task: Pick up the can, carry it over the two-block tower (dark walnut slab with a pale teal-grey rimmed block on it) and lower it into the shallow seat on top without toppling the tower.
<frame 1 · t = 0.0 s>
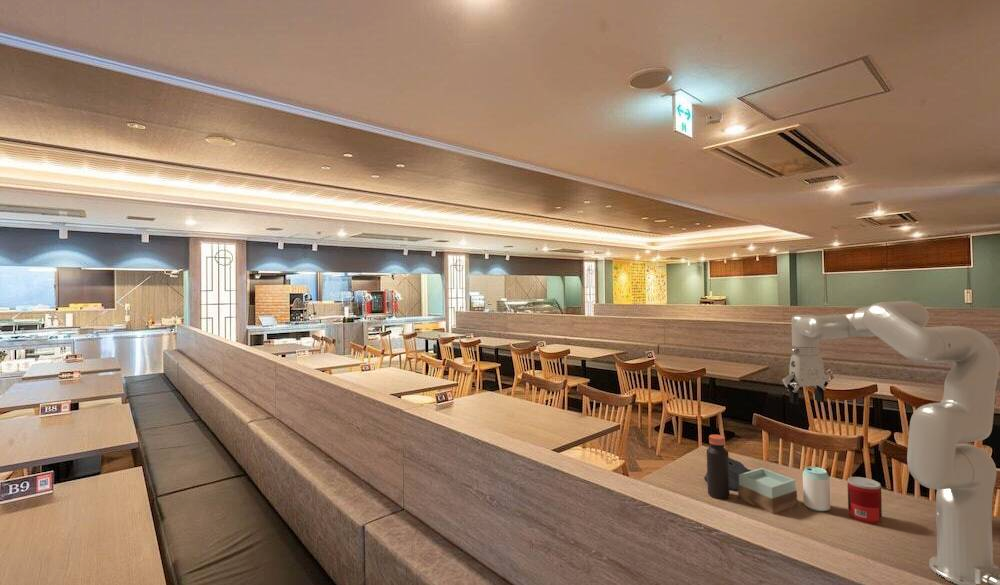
hand: (806, 402, 155), 31 cm above the table, fingers open, 9 cm apart
can: (816, 507, 147), on the table
bottle: (718, 495, 158), on the table
bottom block: (767, 502, 152), on the table, touching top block
canned food: (865, 518, 139), on the table
dark slate chunk: (727, 479, 171), on the table
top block: (766, 487, 152), point 5 cm above the table, touching bottom block
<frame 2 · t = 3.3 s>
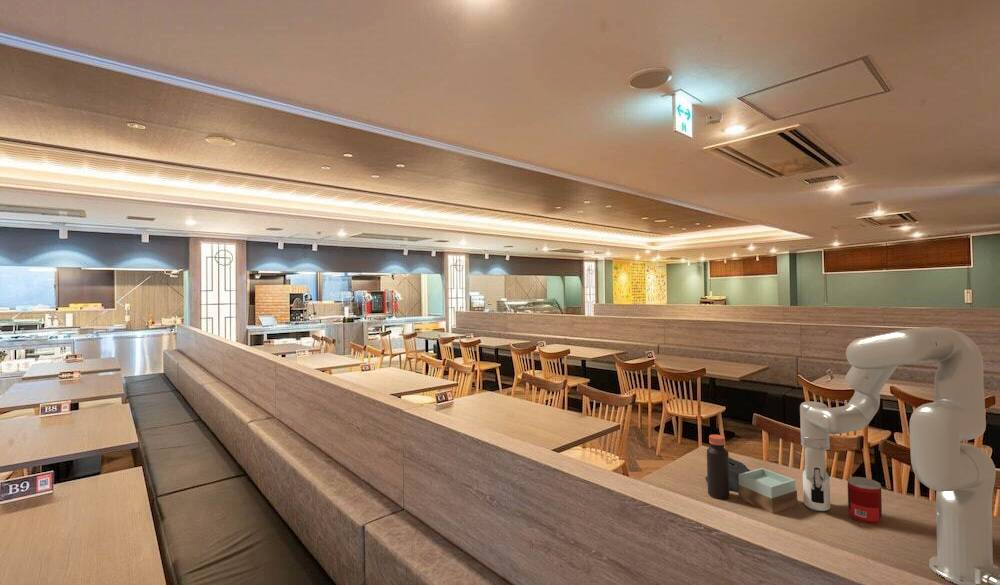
hand: (816, 496, 147), 3 cm above the table, fingers closed on can, 7 cm apart
can: (816, 507, 147), on the table, touching gripper
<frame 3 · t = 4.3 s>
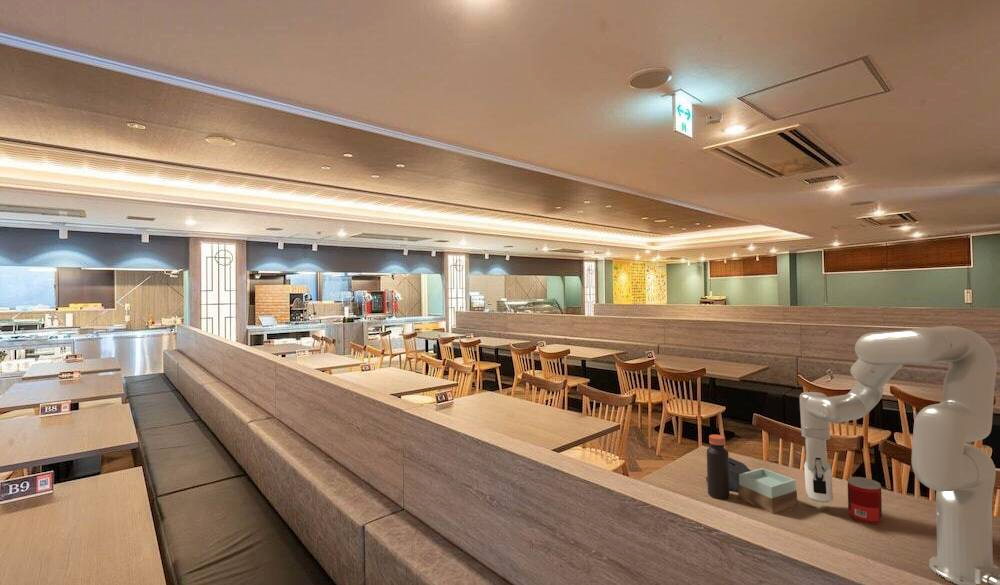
hand: (818, 488, 146), 6 cm above the table, fingers closed on can, 7 cm apart
can: (819, 499, 146), point 3 cm above the table, touching gripper
everything else where it was.
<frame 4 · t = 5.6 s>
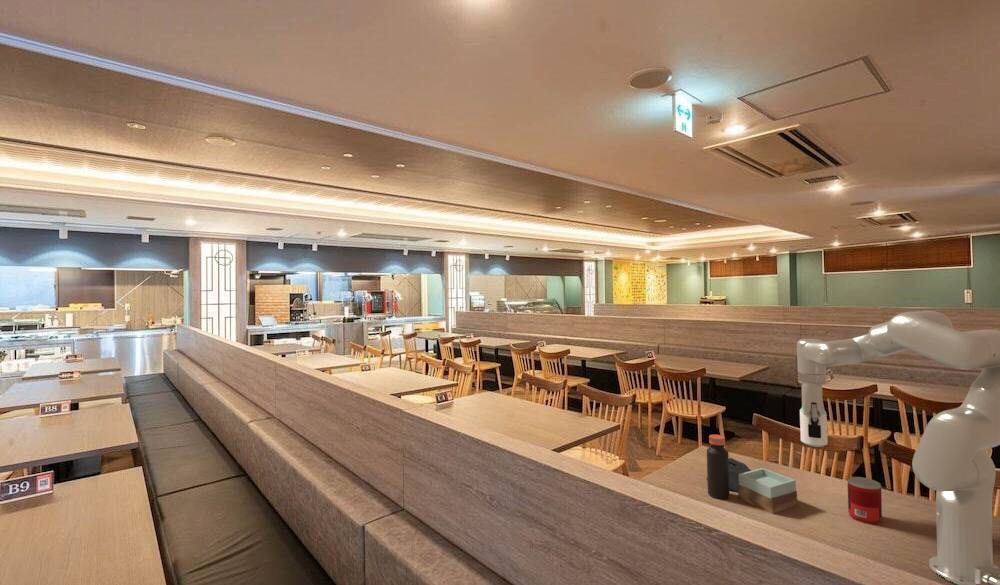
hand: (813, 433, 147), 24 cm above the table, fingers closed on can, 7 cm apart
can: (814, 444, 147), point 20 cm above the table, touching gripper
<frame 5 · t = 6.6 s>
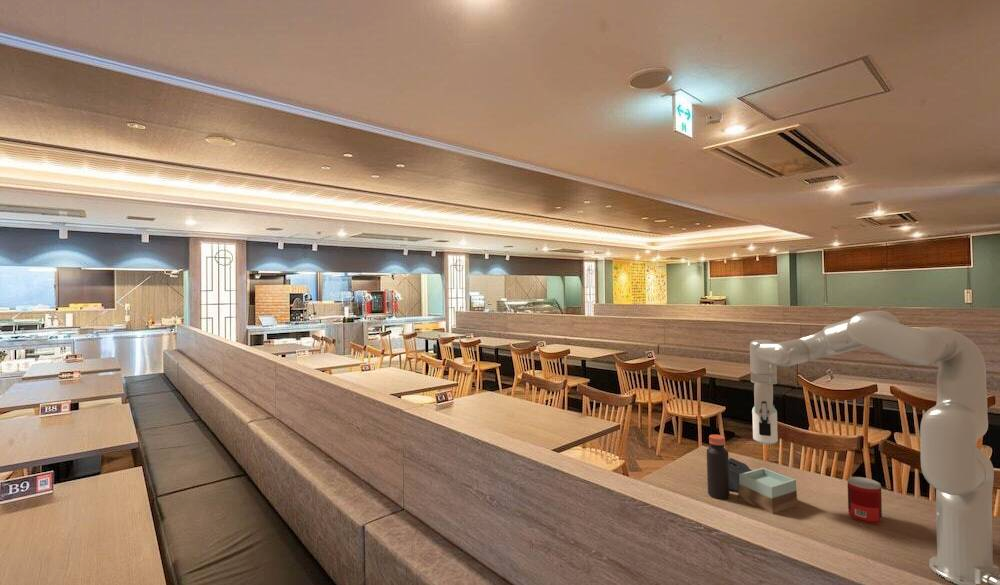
hand: (765, 431, 152), 23 cm above the table, fingers closed on can, 7 cm apart
can: (765, 441, 152), point 20 cm above the table, touching gripper
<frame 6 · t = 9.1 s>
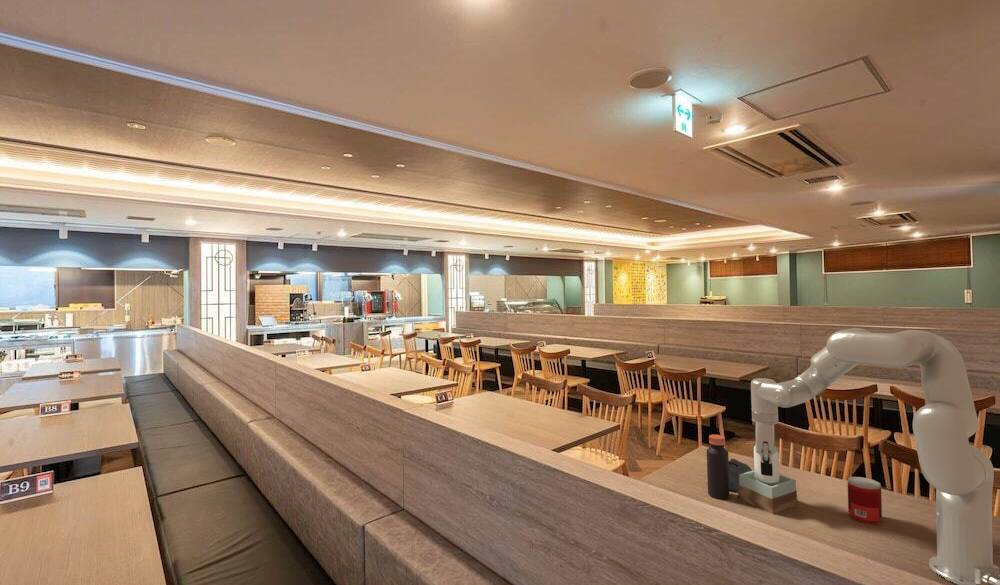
hand: (766, 470, 152), 10 cm above the table, fingers closed on can, 7 cm apart
can: (767, 481, 152), point 7 cm above the table, touching gripper
when the fingers open (10 cm above the table, at t = 9.8 s): can moves 1 cm, resting on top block.
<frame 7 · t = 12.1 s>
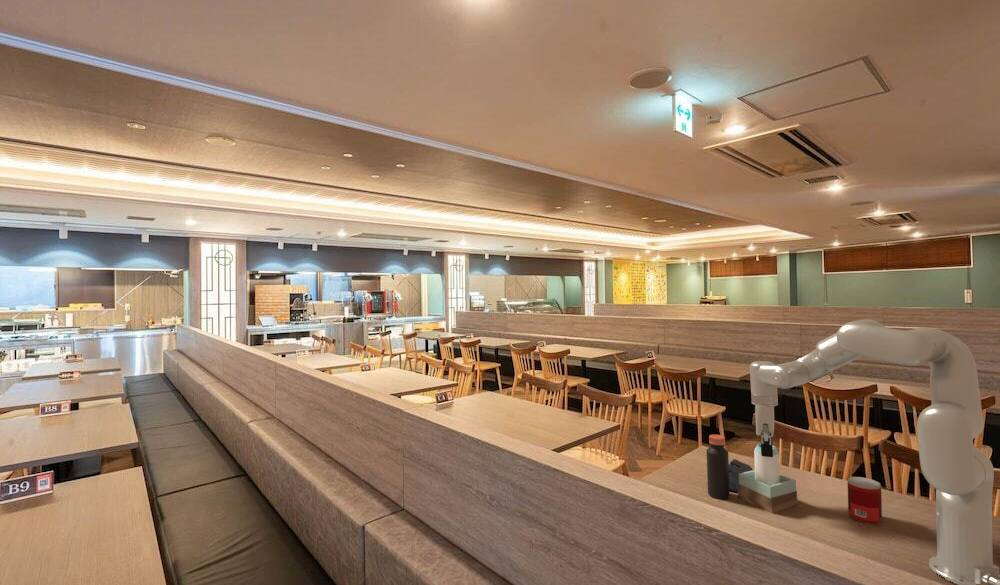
hand: (767, 451, 151), 17 cm above the table, fingers open, 9 cm apart
can: (767, 482, 152), point 6 cm above the table, touching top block
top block: (766, 487, 152), point 5 cm above the table, touching bottom block, can
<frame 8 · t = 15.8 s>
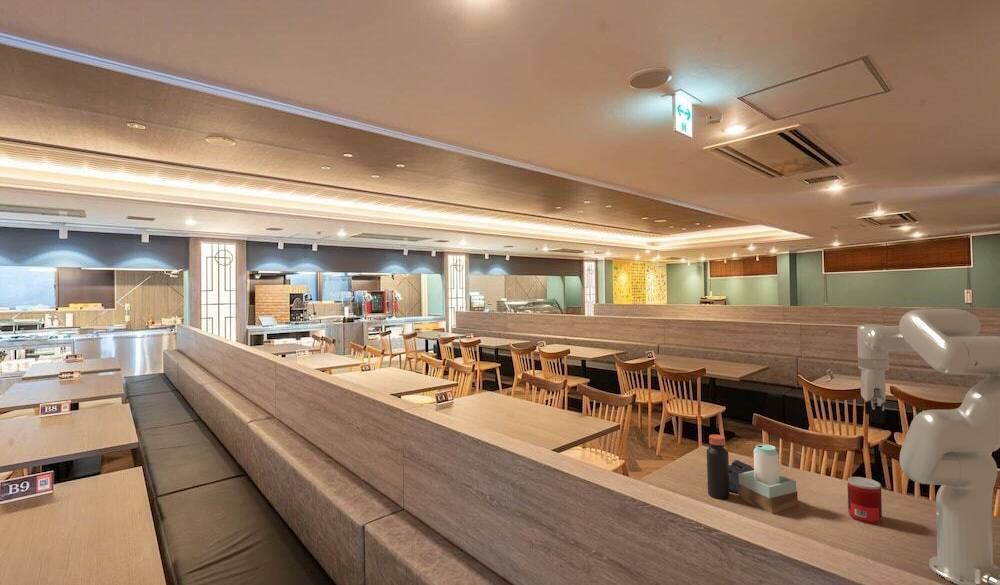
hand: (874, 418, 145), 28 cm above the table, fingers open, 9 cm apart
at the end: can 0.3 cm from the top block (horizontally); can point 5.9 cm above the table; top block tilted 0° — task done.
